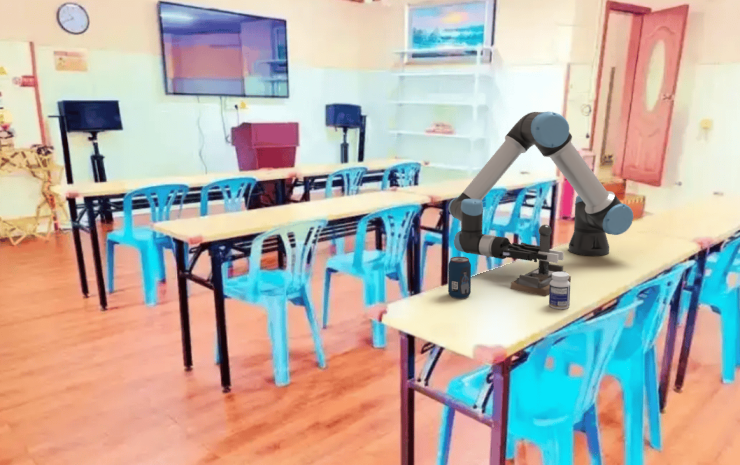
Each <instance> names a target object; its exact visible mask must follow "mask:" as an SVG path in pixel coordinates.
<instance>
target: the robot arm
mask: <svg viewBox="0 0 740 465" xmlns="http://www.w3.org/2000/svg"><path fill="white" fill-rule="evenodd" d="M572 140H573V135H572V134H571V133H570V124H569V122H568V121H567V119H566V118H565V116H563V115H562V114H560V113H557V112H554V111H532V112H528V113H527V114H525V115H523V116H522V117H520V119H519V120H518V121H517V122H516V123H515V124H514V126H512V128H510V130H509V131H508V133H507V134H506V135H505V136H504V142H503V143H502V144H501V145H500V146H499V148H498V149H497V150H496V151H495V153H494V154H493V155H492V156H491V157H490V159H488V161H487V162H486V164H484V166H483V167H482V168H481V169H480V171H479V172H478V173H477V174H476V176H474V178H473V180H472V181H470V183H469V184H468V185H467V186H466V188H465V189H464V190H463V192H461V193H460V194H459V196H458V197H455V198H453V199H452V200H450V202H449V203H448V207H447V208H448V211H449V213H450V215H451V216H452V217H453V218H454V219H457V220H458V221H460V227H461V228H460V230H459V231H457V232H456V234H455V235H454V239H453V245H454V248H455V249H456V251H458V252H462V253H465V254H471V255H478V256H479V255H480V256H484V257H486V258H487V259H488V258H495V259H499V260H505V259H506V258H507V259H508V258H510V259H514V260H515V259H517V260H522V261H523V260H524V261H530V262H532V261H533V262H534V263H537V262H538V261H539V260H542V261H547V262H549V263H552V264H553V263H555V264H558V263H559V261H564V256H565V255H564V254H565V251H561V250H554V249H550V253H547V252H540V251H539V245H535V244H529V243H525V242H520V243H517V242H512V243H511V242H510V239H509V238H508V237H504V236H500V235H499V236H497V235H493V234H492V235H491V234H485V233H483V217H484V215H483V214H484V207H483V206H484V205H483V199H484V198H485V197H486V196H487V195H488V194H489V193H490V192H491V190H492V189H493V188H494V187H495V185H496V184H497V183H498V182H499V180H500V179H502V177H503V176H504V174H505V173H506V172H507V171H508V170H509V169H510V167H511V166H512V165H513V164H514V163H515V162H516V160H517V159H518V158H519V156H521V154H524V153H526V152H527V151H528V150H530V148H531V147H533V146H535V147H536V148H537V150H538V151H539V152H540V153H541V155H542V156H543V158H544V157H545V158H550V159H551V161H552V162H553V163H554V164H555V166H556V167H557V168H558V170H559V171H560V173H561V174H562V176H564V178H565V179H566V180H567V182H568V183H569V184H570V186H571V187H572V188H573V190H574V191H575V193H576V194H577V195H576V197H575V200H574V201H575V202H574V223H573V224H574V225H573V228H574V229H573V233H572V236H571V238H570V241H569V243H568V251H569V252H570V253H573V254H575V255H579V256H580V255H581V256H588V257H589V256H590V257H591V256H593V257H595V256H597V257H599V256H605V255H608V254H609V253H610V243H609V240H608V237H607V234H608V235H614V236H618V235H619V236H620V235H622V234H624V233H626V232H627V231H628V230H629V229H630V228H631V226H632V224H633V220H634V212H633V209H632V208H631V207H630V206H629V205H627V204H626V203H622V202H621V201H620V199H619V197H617V195H616V194H615V192H613V191H612V190H611V191H609V190H607V189H606V188H605V187H604V185H603V184H602V182H601V181H600V179H599V178H598V177H597V175H596V174H595V172H594V171H593V170H592V169H591V167H590V166H589V165H588V164H587V162H586V161H585V159H584V158H583V156H582V155H581V154H580V152H579V151H578V150H577V148H576V147H575V145H574V144H573V143H572Z"/></svg>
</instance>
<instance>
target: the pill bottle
mask: <svg viewBox="0 0 740 465" xmlns="http://www.w3.org/2000/svg"><path fill="white" fill-rule="evenodd" d="M569 276H570V274H569V273H568V272H553V273H552V280H551V281H550V288H549V295H548V305H549V307H550V308H552V309H556V310H567V309H569V307H570V305H571V303H570V301H571V282H569V281H568V279H569Z"/></svg>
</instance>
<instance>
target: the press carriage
mask: <svg viewBox="0 0 740 465" xmlns="http://www.w3.org/2000/svg"><path fill="white" fill-rule="evenodd" d="M552 232H553V231H552V227H551V226H550V225H549V224H542V225H541V226H539V228H538V233H539V245H538V246H539V251H540V252H547V253H550V250H551V249H550V248H551V245H550V244H551V234H552ZM549 264H550V262H547V261H542V260H538V268H539V269H538V268H537V269H538V270H536V271H534V272H532V277H536V278H539V280H543V281H544V280H546V279H547V278H549V277H551V276H552V273H553V271H549Z"/></svg>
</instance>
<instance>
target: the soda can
mask: <svg viewBox="0 0 740 465" xmlns="http://www.w3.org/2000/svg"><path fill="white" fill-rule="evenodd" d="M447 271H448V272H447V274H448V276H447V278H448V280H447V281H448V282H447V283H448V284H447V286H448V287H447V289H448V290H447V292H448V295H449V296H450V297H451V298H453V299H456V300H458V299H459V300H462V299H463V300H464V299H467V298H469V296H470V295H471V293H472V292H471V290H472V289H471V287H472V286H471V285H472V284H471V283H472V274H471V273H472V264H471V262H470V258H469V257H466V256H451V257H450V260H449V262H448V268H447Z"/></svg>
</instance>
